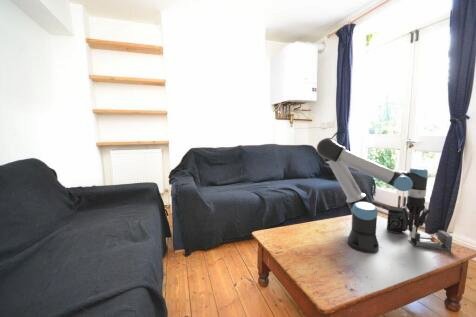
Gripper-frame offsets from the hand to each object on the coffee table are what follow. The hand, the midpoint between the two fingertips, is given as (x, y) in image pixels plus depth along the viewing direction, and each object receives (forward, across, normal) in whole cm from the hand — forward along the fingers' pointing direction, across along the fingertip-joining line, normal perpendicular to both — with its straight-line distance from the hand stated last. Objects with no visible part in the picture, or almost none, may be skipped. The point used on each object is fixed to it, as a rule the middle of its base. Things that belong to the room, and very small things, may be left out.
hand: (412, 236), depth 119 cm
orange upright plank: (+3, +11, 0) cm, 11 cm away
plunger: (+3, +5, 0) cm, 6 cm away
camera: (+5, -1, +15) cm, 16 cm away
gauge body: (+4, +8, 0) cm, 9 cm away
